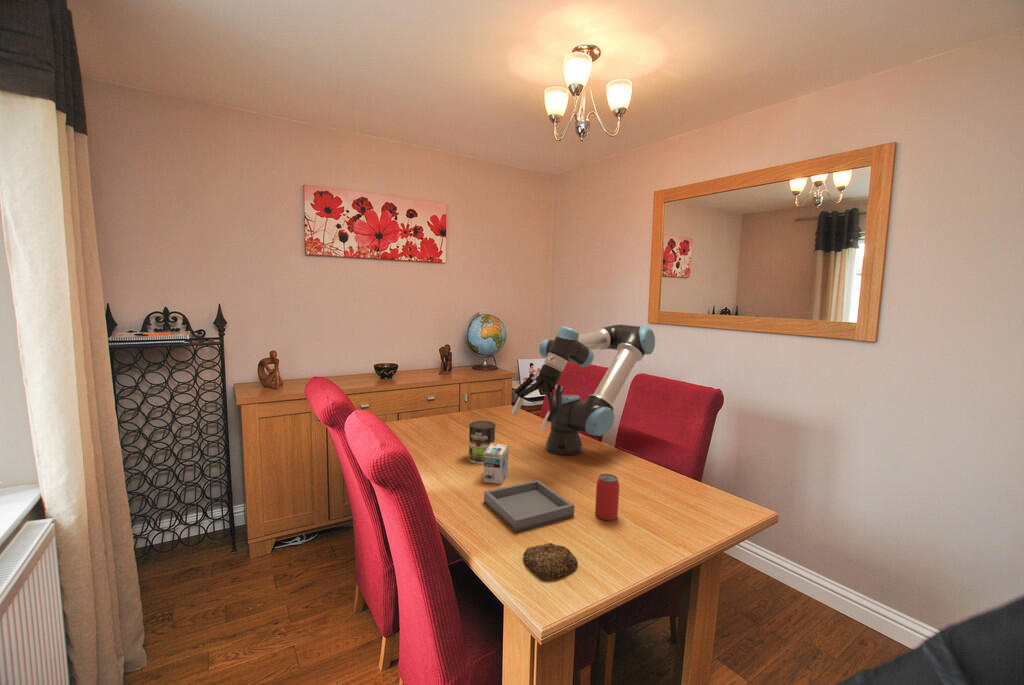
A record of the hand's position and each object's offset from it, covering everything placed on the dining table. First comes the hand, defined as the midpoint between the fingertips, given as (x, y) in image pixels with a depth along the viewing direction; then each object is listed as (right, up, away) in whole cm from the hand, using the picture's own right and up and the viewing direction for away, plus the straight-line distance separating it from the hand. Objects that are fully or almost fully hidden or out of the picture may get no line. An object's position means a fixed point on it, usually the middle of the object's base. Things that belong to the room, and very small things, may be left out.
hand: (527, 421), depth 159 cm
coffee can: (-18, -18, +17) cm, 30 cm away
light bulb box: (-11, -20, 0) cm, 23 cm away
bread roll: (+4, -27, -49) cm, 56 cm away
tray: (-1, -23, -22) cm, 32 cm away
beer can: (+23, -24, -25) cm, 41 cm away
